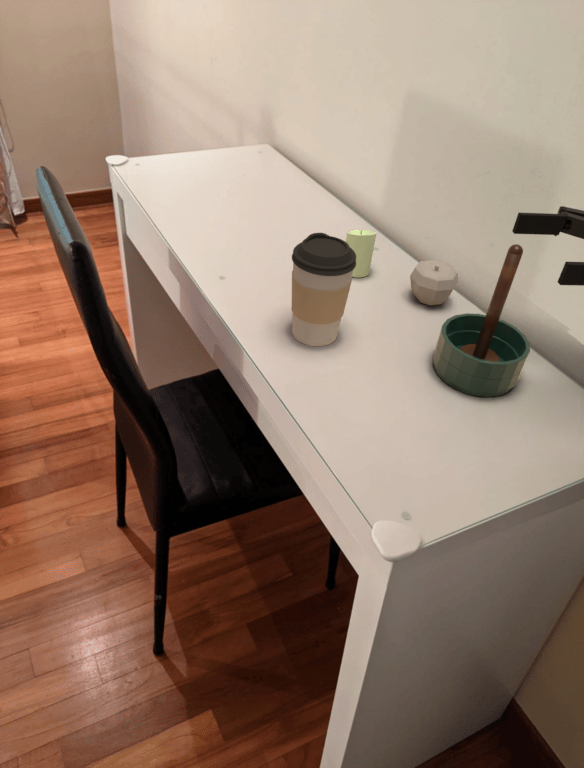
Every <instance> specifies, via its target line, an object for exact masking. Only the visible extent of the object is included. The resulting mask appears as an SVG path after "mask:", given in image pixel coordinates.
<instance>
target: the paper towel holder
mask: <svg viewBox="0 0 584 768" xmlns="http://www.w3.org/2000/svg"><path fill="white" fill-rule="evenodd" d="M523 254H524V248H523V247H522V245H520V244H517V243H516V244H512V245H511V246H510V247H508V249H507V253H506V256H505V258H504V261H503V264H502V267H501V271H500V273H499V276H498V278H497V281H496V285H495V287H494V291H493V293H492V296H491V300H490V301H489V302H490V303H489V305H488V308H487V311H486V314H485V315H486V317H485V320H484V323H483V326H482V329H481V332H480V335H479V337H478V340H477V343H476V344H468V345H465V346H463V347H462V348H461V349H460V350H461V351H463V352H464V353H466V354H468V355H471V356H474V357H476V358H479V359H483V360H488V361H494V362H499V358H498V356H497V354H496V353H495V352H494V351H493V350H491V349H489V346H490V343H491V341H492V338H493V335H494V332H495V329H496V327H497V324H498V321H499V319H500V318H501V316H502V312H503V309H504V307H505V304H506V301H507V298H508V295H509V293H510V290H511V287H512V285H513V282H514V280H515V277H516V274H517V271H518V268H519V265H520V262H521V259H522V257H523Z"/></svg>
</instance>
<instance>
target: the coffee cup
mask: <svg viewBox="0 0 584 768" xmlns="http://www.w3.org/2000/svg"><path fill="white" fill-rule="evenodd" d="M291 261H292V271H291V315H292V316H291V334H292V336H293V338H294V339H295V340H296V341H297V342H299V343H301V344H303V345H306V346H310V347H323V346H328V345H330V344H332V343H334V342H335V341H336V339H337V337H338V333H339V328H340V324H341V321H342V318H343V316H344V313H345V309H346V305H347V302H348V297H349V293H350V291H351V290H350V289H351V287H352V282H353V277H352V273H353V269H354V268H355V267H356V254H355V252H354V251H353V249H351V248H350V246H349V245H348V244H347V243H346V240H343V239H342V238H339V237H336V236H331V235H329V234H327V233H324V232H313V233H311V234H309V235H307V237H306V238H304V239H303V240H302V241H301V242H299V243H298V244H296V246H294V247H293V250H292V254H291Z"/></svg>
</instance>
